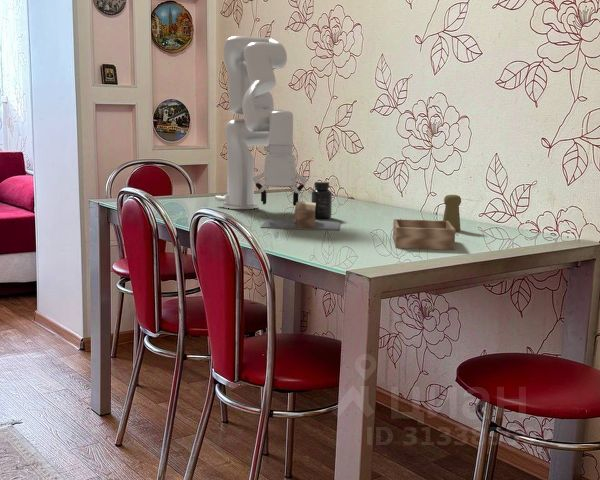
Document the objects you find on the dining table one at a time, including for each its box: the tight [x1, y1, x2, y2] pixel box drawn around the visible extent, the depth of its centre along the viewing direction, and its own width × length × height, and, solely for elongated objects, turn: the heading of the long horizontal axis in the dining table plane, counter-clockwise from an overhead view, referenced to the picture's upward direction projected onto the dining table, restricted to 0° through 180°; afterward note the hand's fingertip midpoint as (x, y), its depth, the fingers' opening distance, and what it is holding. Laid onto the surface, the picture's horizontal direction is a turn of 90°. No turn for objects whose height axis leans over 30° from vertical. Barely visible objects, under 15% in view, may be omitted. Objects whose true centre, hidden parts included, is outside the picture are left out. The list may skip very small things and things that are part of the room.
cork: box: [442, 194, 462, 233], centre depth 240 cm, size 6×6×11 cm
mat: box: [259, 218, 341, 231], centre depth 244 cm, size 24×16×1 cm, turn 86°
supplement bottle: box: [310, 181, 333, 220], centre depth 259 cm, size 7×7×12 cm
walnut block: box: [296, 210, 316, 228], centre depth 238 cm, size 5×5×5 cm
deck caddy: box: [392, 218, 456, 251], centre depth 216 cm, size 16×16×6 cm
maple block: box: [292, 199, 316, 222], centre depth 247 cm, size 6×6×6 cm
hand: (279, 204), depth 247 cm, fingers open, 9 cm apart
